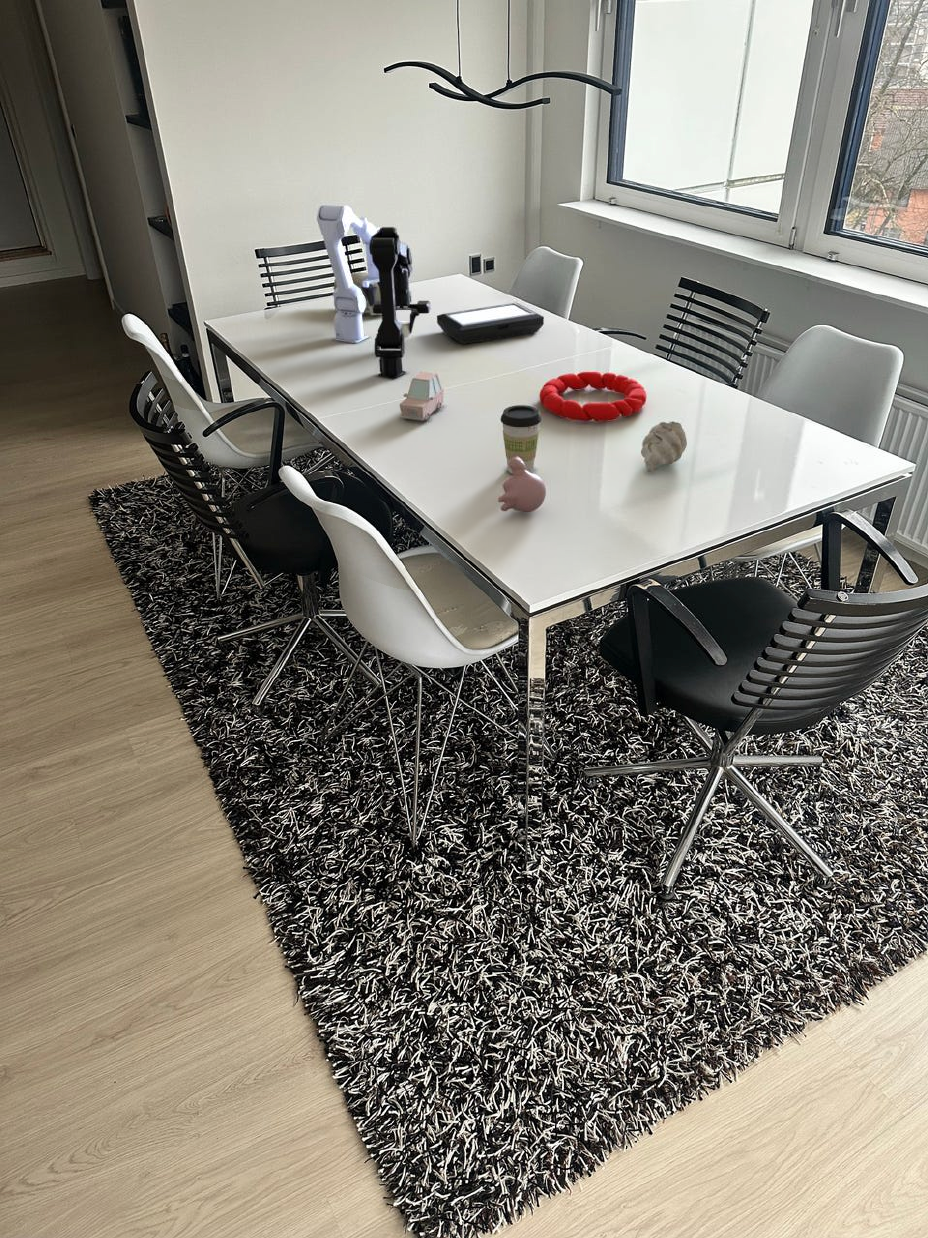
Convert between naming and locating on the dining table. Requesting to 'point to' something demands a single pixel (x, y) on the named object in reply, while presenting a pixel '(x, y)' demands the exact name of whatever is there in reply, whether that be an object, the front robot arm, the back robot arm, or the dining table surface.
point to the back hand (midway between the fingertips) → (378, 303)
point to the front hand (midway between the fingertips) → (403, 333)
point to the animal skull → (357, 281)
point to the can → (405, 329)
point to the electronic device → (490, 322)
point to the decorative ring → (593, 410)
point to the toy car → (422, 397)
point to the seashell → (663, 445)
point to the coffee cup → (521, 433)
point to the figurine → (522, 489)
